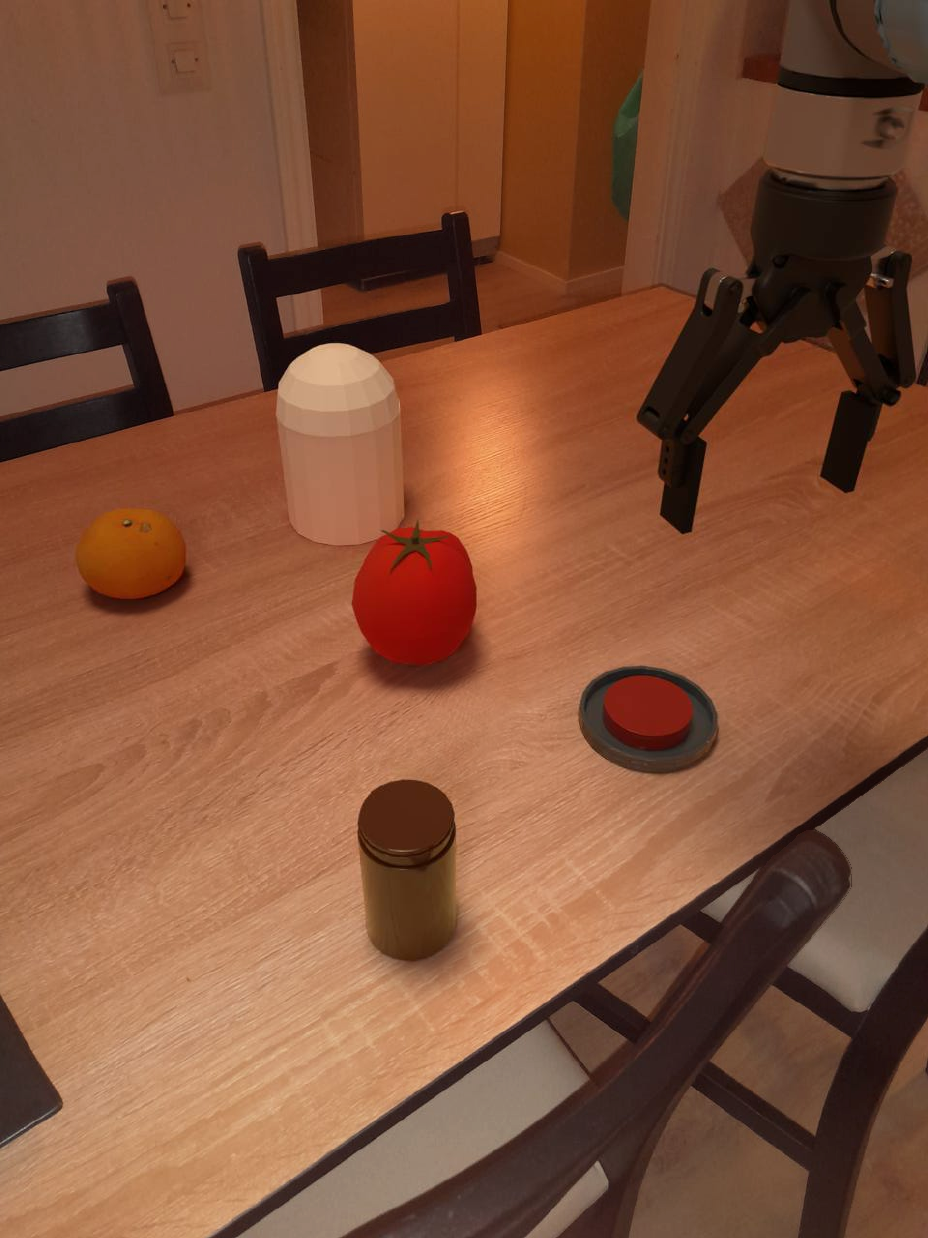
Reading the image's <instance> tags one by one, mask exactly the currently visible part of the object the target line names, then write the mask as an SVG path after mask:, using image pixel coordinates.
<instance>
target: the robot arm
mask: <svg viewBox="0 0 928 1238" xmlns="http://www.w3.org/2000/svg"><path fill="white" fill-rule="evenodd" d="M786 19H787V20H786V25H785V30H784V38H783V43H782V47H781V48H782V49H781V55H780V60H779V66H778V67H779V68H778V73H777V78H776V82H775V87H774V91H773V92H774V93H773V99H772V104H771V109H770V114H769V119H768V124H767V130H766V135H765V139H764V140H765V141H764V147H763V151H762V159H763V161H764V162H765V164H766V165H768V166H769V167H771V168H769V169H767V170H766V171H764V172H763V174H762V175H761V176H760V177H759V179H758V184H757V189H756V195H755V200H754V206H753V210H752V211H753V212H752V217H751V222H750V223H751V224H750V229H749V232H750V239H751V241H752V242H751V243H752V248H753V255H752V257H751V261H750V263H749V265H748V267H747V269H746V270H745V272H744V273H725V272H723V271H722V270H719V269H717V268H715V267H709V268H707V269H706V270H705V271H703V273H702V276H701V278H700V281H699V285H698V290H697V294H696V298H695V302H694V307H693V308H692V310H691V313H690V314H689V316H688V318H687V320H686V321H685V323H684V326H683V328H682V330H681V331H680V333H679V335H678V337H677V339H676V340H675V342H674V344H673V346H672V347H671V349H670V351H669V353H668V355H667V357H666V359H665V361H664V363H663V365H662V367H661V369H660V370H659V372H658V374H657V376H656V378H655V380H654V382H653V383H652V385H651V387H650V389H649V391H648V393H647V394H646V397H645V398H644V401H643V402H642V404H641V406H640V408H639V410H638V412H637V413H636V421H637V423H638V424H640V426H641V427H643V428H644V429H645V430H647V431H648V432H650V433H651V434H652V435H654V436H655V437H656V438H658V439H659V440H661V444H660V445H661V446H660V451H659V452H660V453H659V460H658V467H657V475H658V478H659V479H660V480H661V481H662V482H663V488H662V496H661V503H660V510H659V516H660V517H661V518H663V519H664V521H666V522H667V523H668V524H669V525H671V526H672V527H673V528H674V529H675V530H676V531H678V532H679V533H680V535H685V534H690V533H692V532H693V528H694V521H695V516H696V511H697V506H698V505H697V504H698V498H699V492H700V486H701V480H702V475H703V469H704V465H705V464H704V463H705V459H706V453H707V446H708V442H707V441H706V440H704V439H703V438H701V437H700V435H701V433H702V432H703V431H704V429H706V427H707V426H708V425H709V423H710V422H711V421H712V420H713V419H714V417H715V416H716V415H717V414H718V412H719V411H720V410H721V408H723V406H724V405H725V404H726V403H727V402H728V400H729V399H730V398H731V396H732V395H733V394H734V392H735V391H736V390H737V389H738V388H739V386H740V385H741V384H742V382H743V381H744V380H745V379H746V378H747V377H748V375H749V374H750V373H751V371H752V370H753V369H754V368H755V366H757V364H758V363H759V361H760V360H761V359H763V358H765V357H769V356H771V355H772V354H774V353H775V351H776V350H777V349H778V348H779V347H780V345H781V344H782V343H783V344H785V345H787V344H791V343H793V344H794V343H796V342H799V341H801V340H803V339H805V338H812V339H819V338H824V337H825V338H826V337H827V338H828V340H829V342H830V344H831V346H832V348H833V350H834V352H835V354H836V356H837V358H838V360H839V362H840V364H841V365H842V367H843V369H844V371H845V373H846V375H847V377H848V379H849V381H850V383H851V384H852V387H854V389H856V391H853V390H851V389H849V390H843V391H841V392H840V394H839V395H840V396H839V399H838V403H837V407H836V411H835V414H834V419H833V422H832V427H831V431H830V434H829V439H828V442H827V445H826V446H827V447H826V449H825V450H826V451H825V454H824V459H823V461H822V465H821V470H820V473H819V477H820V478H822V479H823V480H825V481H826V482H827V483H829V484H830V485H832V486H834V487H835V488H837V489H838V490H840V491H841V492H843V493H844V494H849V493H853V492H855V488H856V485H857V481H858V478H859V474H860V471H861V468H862V464H863V461H864V457H865V453H866V449H867V446H868V443H869V442H871V441H872V439H873V438H874V435H875V433H876V430H877V426H878V423H879V422H878V421H879V420H880V415H881V412H882V409H883V405H885V406H887V407H890V408H891V407H894V406H896V405H897V404H898V403H899V402H900V399H901V397H902V391H901V390H899V389H900V387H901V388H903V389H909V388H911V386H912V385H914V383H915V382H916V379H917V369H916V359H915V350H914V341H913V332H912V324H911V323H912V322H911V316H910V315H911V314H910V304H909V296H908V284H909V278H910V274H911V268H912V264H913V256H912V254H910V253H909V252H906V251H903V250H901V249H898V248H895V247H892V246H891V245H890V246H889V245H887V244H885V243H886V241H887V235H888V232H889V228H890V224H891V220H892V216H893V212H894V209H895V205H896V200H897V197H898V194H899V193H898V192H899V187H898V186H897V184H896V181H895V180H894V179H893V178H892V176H893V175H896V174H897V173H899V172H900V171H902V170H903V168H904V167H905V163H906V158H907V154H908V150H909V147H910V143H911V139H912V135H913V132H914V128H915V123H916V119H917V116H918V112H919V108H920V103H921V100H922V96H923V92H924V90H925V89H926V88H927V89H928V0H790V1H789V8H788V13H787V18H786ZM862 291H863V293H864V299H865V307H866V312H867V319H868V320H867V321H868V329H869V335H870V337H869V335H868V333H867V330H866V327H867V321H866V320H865V316H864V315H863V313H862V310H861V308H860V306H859V305H858V302H857V297H858V296H859V295H860V293H861V292H862ZM744 301H745V302H744ZM755 323H756V325H757V327H758V329H759V330H760V331H761V332H757V331H756V330H754V329H752V328H751V327H752V326H753V324H755ZM898 388H899V389H898ZM686 417H687V418H686ZM685 418H686V419H685Z"/></svg>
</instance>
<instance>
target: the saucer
mask: <svg viewBox="0 0 928 1238" xmlns="http://www.w3.org/2000/svg"><path fill="white" fill-rule="evenodd" d="M631 676H653V677H657V678H661V679H664V680H667V681H669V682H671V683H673V684H675V685H676V686H678V687H679V688H681V689H682V690H683V691H684V692H685V693H686V694H687V696H688V697H689V699H690V701H691V703H692V706H693V715H692V720H691V725H690V729H689V732H688V734H687V736H686V737H685V739H684V740H683V741H682V742H680V743H679V744H677V745H676V746H674V747H671V748H668V749H664V750H657V751H649V750H641V749H636V748H633V747H630V746H628V745H625V744H623V743H622V742H620V741H618V740H617V739H616V738H614V737H613V736H612V735H611V734H610V733H609V732H608V730H607V729H606V727H605V725H604V722H603V717H602V714H603V706H604V698H605V694H606V692H607V690H608V689H609V688H610V687H611V686H612V685H613V684H614V683H616V682H617V681H619V680H621V679H624V678H627V677H631ZM577 714H578V723H579V728H580V731H581V734H582V735H583V738H584V739H585V740H586V742H587V743H588V744H589V746H590V747H591V748H592V749H593V750H594V751H595V752H596V753H597V754H599V755H601V757H603V758H604V759H606V760H608V761H610V762H612V763H613V764H616V765H618V766H620V767H624V768H626V769H629V770H633V771H638V772H643V773H657V774H659V773H668V772H675V771H679V770H683V769H686V768H688V767H691V766H692V765H694V764H696V763H698V762H699V761H700V760H702V759H703V758H704V757H705V756H706V755H707V754H708V753H709V751H710V750H711V748H712V746H713V743H714V741H715V740H716V737H717V731H718V722H719V721H718V719H719V714H718V712H717V709H716V707H715V704H714V702H713V700H712V698H711V697H710V696H709V695H708V694H707V693H706V691H704V690H703V689H702V687H701V686H700V685H699V684H697V683H695V682H693V680H690V679H689V678H687V677H686V676H684V675H682V674H679V673H676V672H674V671H671V670H668V669H666V668H660V667H654V666H649V665H632V666H631V665H630V666H621V667H617V668H613V669H611V670H607V671H604V672H603V673H601V674H600V675H598V676H597V677H595V678H594V679H591V681H590V682H589V683H588V684H587V686H586V687H585V688H584V690H583V691H582V693H581V697H580V701H579V706H578V713H577Z"/></svg>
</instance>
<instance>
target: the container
mask: <svg viewBox="0 0 928 1238" xmlns="http://www.w3.org/2000/svg"><path fill="white" fill-rule="evenodd" d="M276 396H277V397H276V408H275V417H276V423H277V430H278V440H279V446H280V455H281V462H282V471H283V479H284V486H285V497H286V503H287V511H288V518H289V523H290V525H291V527H292V528H293V529H294V531H295V532H296V533H297V534H298V535H300V536H301V537H304V538H305V539H307V540H310V541H311V542H313V543H317V544H318V543H319V544H322V545H323V544H325V545H329V546H335V547H336V546H337V547H338V546H357V545H364V544H367V543H370V542H373V541H377V540H378V539H379V537H381V536H384V535H386V533H384V532H382V531H380V530H384V531H386V532H388V533H390V532H392V531H394V530H396V529H398V528H399V526H400V525H401V523H402V522H403V520H404V519H405V517H406V516H405V493H404V467H403V466H404V465H403V444H402V443H403V442H402V417H401V416H402V414H401V403H400V398H399V396H398V392H397V388H396V385H395V381H394V378H393V376H391V374H390V373H389V371H388V370H387V369H386V368H385V367H384V365H383V364H382V363H381V362H380V360H379V359H377V357H375V356H374V355H373V354H371V353H369V352H366V351H365V350H362V349H360V348H359V347H356V346H353V345H351V344H347V343H340V342H333V343H325V344H320V345H317V346H315V347H312V348H311V349H309V350H307V351H306V352H304V353H303V354H300V355H299V356H297V357H296V358H295V359H294V360H292V362H290V364H289V365H288V367H287V369H286V370H285V371H284V374H283V375H282V377H281V378H280V380H279V382H278V388H277V395H276Z"/></svg>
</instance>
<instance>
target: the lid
mask: <svg viewBox="0 0 928 1238" xmlns="http://www.w3.org/2000/svg"><path fill="white" fill-rule="evenodd" d="M692 715H693V706H692V703H691V701H690V699H689V697H688V696H687V694H686V693H685V692H684V691H683V690H682V689H681V688H679V687H678V686H676V685H675V684H673V683H671V682H669V681H667V680H664V679H661V678H657V677H653V676H631V677H627V678H624V679H621V680H619V681H617V682H616V683H614V684H613V685H612V686H611V687H610V688H609V689H608V690H607V692H606V694H605V698H604V706H603V714H602V717H603V722H604V725H605V727H606V729H607V730H608V732H609V733H610V734H611V735H612V736H613V737H614V738H616V739H617V740H618V741H620V742H622V743H623V744H625V745H628V746H630V747H633V748H636V749H641V750H649V751H657V750H664V749H668V748H671V747H674V746H676V745H677V744H679V743H680V742H682V741H683V740H684V739H685V737H686V736H687V734H688V732H689V729H690V725H691V720H692Z"/></svg>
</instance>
